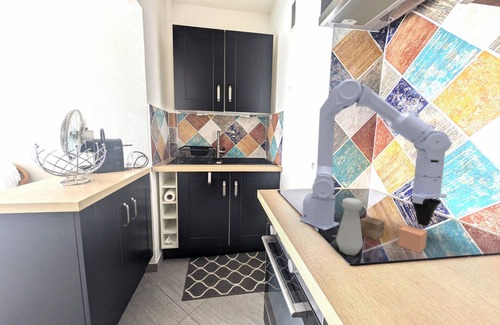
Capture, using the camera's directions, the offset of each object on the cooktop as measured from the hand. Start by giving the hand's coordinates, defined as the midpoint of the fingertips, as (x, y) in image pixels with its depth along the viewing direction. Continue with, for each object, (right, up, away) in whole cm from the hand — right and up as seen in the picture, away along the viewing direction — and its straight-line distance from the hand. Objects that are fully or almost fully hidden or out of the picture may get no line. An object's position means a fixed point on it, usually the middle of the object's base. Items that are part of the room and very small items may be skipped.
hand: (423, 224), depth 57 cm
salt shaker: (-24, -5, -7) cm, 25 cm away
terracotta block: (-6, -5, -4) cm, 9 cm away
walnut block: (-13, -4, +2) cm, 14 cm away
